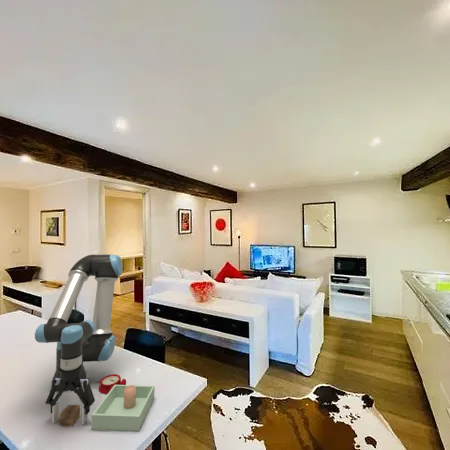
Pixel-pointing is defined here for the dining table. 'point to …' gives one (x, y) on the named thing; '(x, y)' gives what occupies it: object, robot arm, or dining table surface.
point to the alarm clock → (110, 383)
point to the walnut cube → (70, 415)
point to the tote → (122, 410)
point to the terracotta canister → (129, 397)
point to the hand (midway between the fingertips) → (70, 421)
